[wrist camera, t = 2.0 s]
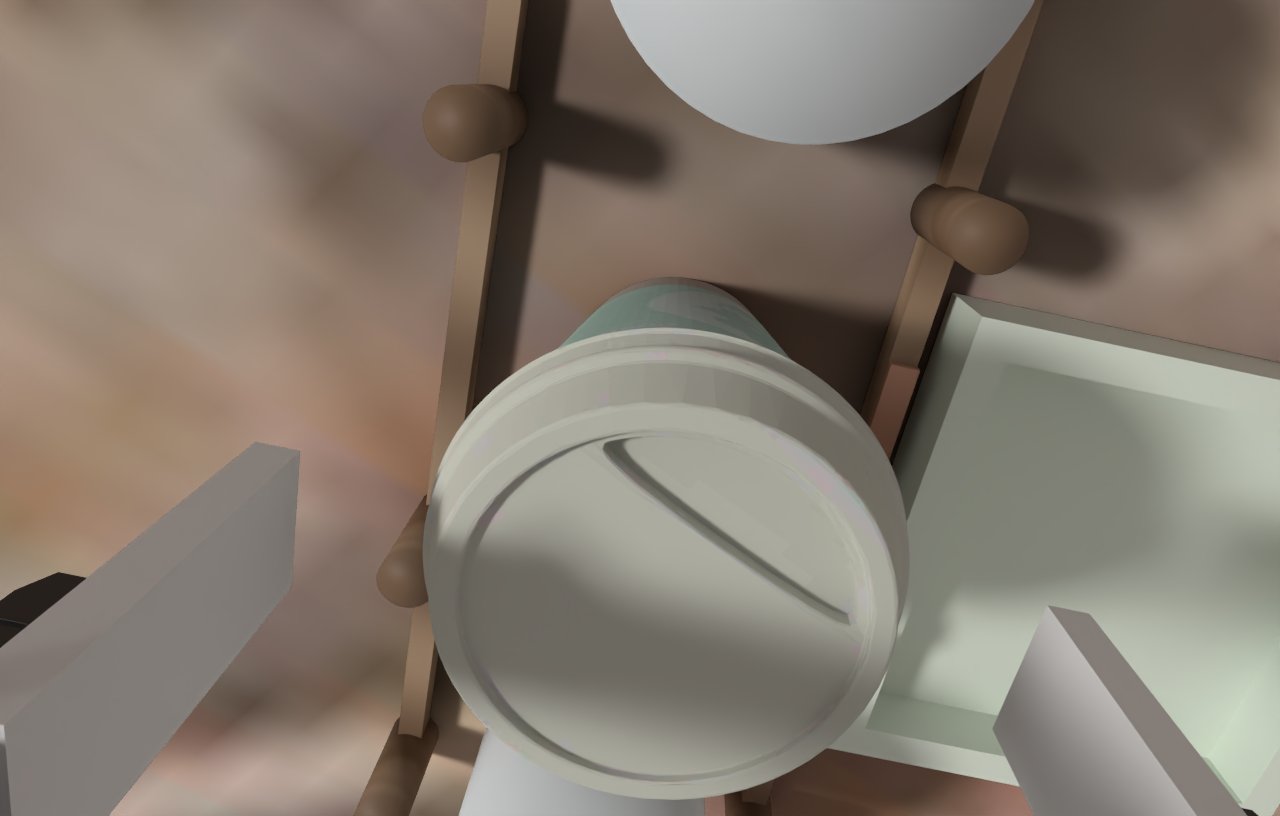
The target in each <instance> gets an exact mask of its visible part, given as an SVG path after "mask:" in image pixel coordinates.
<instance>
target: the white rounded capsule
mask: <svg viewBox="0 0 1280 816" xmlns="http://www.w3.org/2000/svg"><path fill="white" fill-rule="evenodd" d="M459 816H705V798H697V799H682V800H664V799H642V798H636V797H629V796H622V795H616V794H611V793H607V792H603V791H599V790H595V789H592V788H589V787H586V786H582V785H579V784H576V783H574V782H571V781H569V780H567V779H564V778H562V777H559V776H557V775H555V774H552V773H550V772H548V771H547V770H545V769H543V768H541V767H539V766H537V765H536V764H534V763H532V762H530V761H529V760H527V759H525V758H524V757H522V756H521V755H519V754H518V753H516V752H515V751H514V750H512V749H511V748H510V747H508V746H507V745H506V744H505V743H503V742H502V741H501V740H500V739H499V738H497V737H496V736H495V735H494V734H493V733H492V732H491V731H490V730H489V729H488V728H487V727H486V729H485V733H484V736H483V739H482V742H481V746H480V749H479V752H478V755H477V759H476V762H475V765H474V768H473V771H472V775H471V778H470V781H469V784H468V788H467V791H466V794H465V797H464V801H463V804H462V807H461V810H460V813H459Z"/></svg>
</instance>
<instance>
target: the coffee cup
mask: <svg viewBox="0 0 1280 816" xmlns="http://www.w3.org/2000/svg"><path fill="white" fill-rule="evenodd" d="M423 569H424V578H425V584H426V589H427V593H428V598H429V600H428V603H429V612H430V620H431V628H432V632H433V636H434V639H435V643H436V647H437V650H438V653H439V656H440V658H441V661H442V663H443V665H444V668H445V670H446V672H447V674H448V676H449V678H450V680H451V682H452V684H453V685H454V687H455V688H456V690H457V691H458V693H459V695H460V696H461V698H462V699H463V701H464V702H465V703H466V705H467V706H468V707H469V708H470V710H471V711H472V712H473V713H474V714H475V716H476V717H477V718H478V719H479V720H480V721H481V722H482V723H483V724H484V725H485V726H486V727H487V728H488V729H489V730H490V731H491V732H492V733H493V734H494V735H495V736H496V737H497V738H499V739H500V740H501V741H502V742H503V743H505V744H506V745H507V746H508V747H510V748H511V749H512V750H514V751H515V752H516V753H518V754H519V755H521V756H522V757H524V758H525V759H527V760H529V761H530V762H532V763H534V764H536V765H537V766H539V767H541V768H543V769H545V770H547V771H548V772H550V773H552V774H555V775H557V776H559V777H562V778H564V779H567V780H569V781H571V782H574V783H576V784H579V785H582V786H586V787H589V788H592V789H595V790H599V791H603V792H607V793H611V794H616V795H622V796H629V797H636V798H642V799H664V800H682V799H697V798H705V797H712V796H719V795H724V794H728V793H733V792H737V791H741V790H745V789H748V788H751V787H754V786H757V785H760V784H763V783H765V782H768V781H770V780H773V779H775V778H777V777H779V776H782V775H784V774H786V773H788V772H790V771H792V770H794V769H795V768H797V767H799V766H801V765H802V764H804V763H806V762H808V761H809V760H811V759H812V758H814V757H815V756H816V755H818V754H819V753H820V752H822V751H823V750H825V749H826V748H827V747H829V746H830V745H831V744H832V743H834V742H835V741H836V740H837V739H838V738H839V737H840V736H841V735H842V734H843V733H844V732H845V731H846V730H847V729H848V728H849V727H850V726H851V725H852V724H853V723H854V722H855V720H856V719H857V718H858V717H859V716H860V714H861V713H862V712H863V711H864V710H865V708H866V707H867V705H868V704H869V702H870V700H871V699H872V697H873V696H874V694H875V693H876V691H877V689H878V688H879V686H880V684H881V681H882V679H883V677H884V675H885V673H886V671H887V668H888V665H889V663H890V660H891V657H892V654H893V651H894V646H895V642H896V637H897V631H898V624H899V622H900V619H901V616H902V612H903V609H904V605H905V600H906V596H907V590H908V582H909V571H910V552H909V539H908V532H907V523H906V515H905V509H904V504H903V499H902V495H901V491H900V488H899V485H898V481H897V479H896V476H895V473H894V471H893V468H892V466H891V464H890V462H889V460H888V457H887V456H886V454H885V452H884V450H883V448H882V446H881V445H880V443H879V441H878V440H877V438H876V436H875V435H874V434H873V432H872V431H871V429H870V428H869V426H868V425H867V424H866V422H865V421H864V420H863V419H862V418H861V416H860V415H859V414H858V413H857V412H856V411H855V409H854V408H853V407H852V406H851V405H850V404H849V403H848V402H847V401H846V400H845V399H844V398H843V397H842V396H841V395H840V394H839V393H837V392H836V391H835V390H834V389H833V388H832V387H830V386H829V385H828V384H827V383H826V382H824V381H823V380H822V379H820V378H819V377H817V376H816V375H815V374H813V373H812V372H810V371H809V370H807V369H806V368H804V367H802V366H801V365H799V364H797V363H796V362H794V361H792V360H791V359H790V358H789V357H788V356H787V354H786V353H785V352H784V351H783V350H782V348H781V347H780V346H779V345H778V344H777V342H776V341H775V340H774V339H773V338H772V337H771V335H770V334H769V333H768V332H767V331H766V329H765V328H764V327H763V326H762V325H761V324H760V322H759V321H758V320H757V319H756V318H755V317H754V316H753V315H752V313H751V312H750V311H749V310H748V309H747V308H746V307H745V306H744V305H743V304H742V303H741V302H740V301H738V300H737V299H736V298H735V297H733V296H732V295H730V294H729V293H727V292H725V291H724V290H722V289H720V288H718V287H716V286H713V285H711V284H708V283H705V282H702V281H698V280H694V279H688V278H679V277H667V278H657V279H652V280H647V281H643V282H640V283H637V284H635V285H632V286H630V287H628V288H625V289H624V290H622V291H620V292H618V293H617V294H615V295H614V296H612V297H611V298H610V299H608V300H607V301H606V302H605V303H604V304H603V305H602V306H600V307H599V308H598V309H597V310H596V311H595V312H594V313H593V314H592V315H591V316H590V317H589V318H588V319H587V320H586V321H585V322H584V323H583V324H582V325H581V326H580V327H579V328H578V329H577V330H576V331H575V332H574V333H573V334H572V335H571V336H570V337H569V338H568V339H567V340H566V341H565V342H564V343H563V344H562V345H561V346H560V347H559V348H558V349H556V350H554V351H552V352H550V353H548V354H546V355H544V356H542V357H540V358H538V359H536V360H534V361H533V362H531V363H529V364H527V365H526V366H524V367H523V368H521V369H520V370H518V371H517V372H515V373H514V374H512V375H511V376H510V377H508V378H507V379H506V380H504V381H503V382H502V383H501V384H499V385H498V386H497V387H496V388H495V389H494V390H492V391H491V392H490V393H489V394H488V395H487V396H486V397H485V398H484V399H483V400H482V401H481V402H480V403H479V404H478V405H477V406H476V408H475V409H474V410H473V411H472V412H471V413H470V415H469V416H468V417H467V419H466V420H465V421H464V423H463V424H462V425H461V427H460V428H459V430H458V431H457V433H456V434H455V436H454V438H453V439H452V441H451V443H450V445H449V447H448V449H447V451H446V453H445V455H444V457H443V459H442V461H441V464H440V466H439V469H438V472H437V475H436V478H435V481H434V484H433V488H432V492H431V497H430V502H429V507H428V511H427V515H426V520H425V527H424V537H423Z"/></svg>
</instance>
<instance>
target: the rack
mask: <svg viewBox="0 0 1280 816" xmlns="http://www.w3.org/2000/svg"><path fill="white" fill-rule="evenodd" d="M1043 2H1044V0H1035V1H1034V3H1033V5H1032V7H1031V9H1030V10H1029V12H1028V14H1027V15H1026V16H1025V18H1024V19H1023V21H1022V22H1021V24H1020V25H1019V27H1018V28H1017V30H1016V31H1015V32H1014V34H1013V35H1012V37H1011V38H1010V40H1009V41H1008V42H1007V43H1006V44H1005V45H1004V47H1003V48H1002V49H1001V50H1000V51H999V52H998V54H997V55H996V56H995V57H994V58H993V59H992V60H991V62H990V63H989V64H988V65H987V66H986V67H985V68H984V69H983V70H982V71H981V72H980V73H978V74H977V75H976V76H975V77H974V78H973V79H972V80H971V81H970V82H969V83H968V84H967V87H966V90H965V93H964V96H963V100H962V103H961V106H960V109H959V112H958V115H957V118H956V121H955V124H954V127H953V130H952V133H951V136H950V139H949V143H948V146H947V149H946V152H945V155H944V158H943V161H942V164H941V167H940V170H939V173H938V176H937V179H936V182H935V184H932V185H930V186H928V187H927V188H925V189H924V190H923V191H921V192H920V194H919V195H918V196H917V197H916V199H915V201H914V203H913V205H912V209H911V223H912V226H913V229H914V230H915V232H916V233H917V234H918V238H917V241H916V244H915V247H914V250H913V253H912V256H911V259H910V262H909V265H908V268H907V271H906V275H905V278H904V281H903V284H902V287H901V290H900V293H899V296H898V299H897V302H896V305H895V308H894V311H893V314H892V317H891V321H890V324H889V327H888V330H887V333H886V336H885V339H884V342H883V345H882V348H881V351H880V354H879V357H878V360H877V364H876V367H875V370H874V373H873V376H872V379H871V382H870V385H869V388H868V391H867V394H866V397H865V400H864V403H863V406H862V410H861V413H860V416H861V418H862V419H863V420H864V421H865V422H866V424H867V425H868V426H869V428H870V429H871V431H872V432H873V434H874V435H875V436H876V438H877V440H878V441H879V443H880V445H881V446H882V448H883V450H884V452H885V454H886V456H887V457H888V460H889V459H890V456H891V453H892V450H893V447H894V445H895V442H896V439H897V436H898V433H899V430H900V427H901V424H902V422H903V419H904V416H905V413H906V410H907V407H908V404H909V401H910V398H911V396H912V393H913V390H914V387H915V384H916V381H917V378H918V375H919V373H920V370H919V369H918V368H917V367H918V364H919V361H920V358H921V355H922V352H923V349H924V346H925V343H926V341H927V338H928V335H929V332H930V329H931V326H932V323H933V320H934V317H935V315H936V312H937V309H938V306H939V303H940V300H941V297H942V294H943V291H944V288H945V286H946V283H947V280H948V277H949V274H950V271H951V268H952V265H953V262H954V260H955V261H956V262H958V263H959V264H961V265H962V266H964V267H965V268H967V269H968V270H970V271H972V272H974V273H977V274H981V275H994V274H998V273H1001V272H1004V271H1006V270H1008V269H1009V268H1011V267H1012V266H1013V265H1015V264H1016V263H1017V262H1018V261H1019V260H1020V258H1021V257H1022V256H1023V254H1024V252H1025V250H1026V248H1027V246H1028V242H1029V226H1028V223H1027V220H1026V218H1025V217H1024V215H1023V214H1022V213H1021V212H1020V211H1019V210H1018V209H1017V208H1015V207H1014V206H1011V205H1009V204H1006V203H1004V202H1001V201H999V200H996V199H994V198H991V197H989V196H986V195H983V194H981V193H978V190H979V187H980V184H981V181H982V178H983V176H984V173H985V170H986V167H987V164H988V161H989V158H990V155H991V152H992V150H993V147H994V144H995V141H996V138H997V135H998V132H999V129H1000V126H1001V124H1002V121H1003V118H1004V115H1005V112H1006V109H1007V106H1008V103H1009V100H1010V97H1011V95H1012V92H1013V89H1014V86H1015V83H1016V80H1017V77H1018V74H1019V71H1020V69H1021V66H1022V63H1023V60H1024V57H1025V54H1026V51H1027V48H1028V45H1029V42H1030V40H1031V37H1032V34H1033V31H1034V28H1035V25H1036V22H1037V19H1038V16H1039V14H1040V11H1041V8H1042V5H1043ZM528 4H529V0H487V8H486V16H485V24H484V32H483V40H482V49H481V57H480V65H479V73H478V81H477V84H470V85H450V86H446V87H443V88H441V89H439V90H438V91H436V92H435V93H434V94H433V95H432V96H431V97H430V98H429V100H428V102H427V104H426V106H425V109H424V112H423V129H424V133H425V136H426V138H427V140H428V142H429V143H430V145H431V146H432V148H433V149H434V150H435V151H436V152H437V153H438V154H440V155H441V156H443V157H444V158H446V159H448V160H451V161H455V162H468V163H467V172H466V180H465V188H464V196H463V204H462V213H461V221H460V229H459V237H458V245H457V254H456V262H455V270H454V278H453V287H452V295H451V303H450V311H449V319H448V328H447V336H446V344H445V352H444V360H443V369H442V377H441V385H440V393H439V401H438V410H437V418H436V426H435V434H434V442H433V451H432V459H431V467H430V475H429V483H428V492H427V495H426V496H425V497H424V498H423V500H422V501H421V503H420V504H419V506H418V508H417V509H416V511H415V512H414V514H413V515H412V517H411V519H410V520H409V522H408V523H407V525H406V527H405V528H404V530H403V531H402V533H401V535H400V536H399V538H398V539H397V541H396V543H395V544H394V546H393V547H392V549H391V551H390V552H389V554H388V555H387V557H386V558H385V560H384V562H383V563H382V565H381V566H380V568H379V570H378V572H377V577H376V581H377V586H378V588H379V590H380V592H381V594H382V595H383V596H384V597H385V598H386V599H387V600H388V601H390V602H391V603H393V604H395V605H398V606H401V607H406V608H413V615H412V623H411V631H410V639H409V648H408V656H407V664H406V672H405V680H404V689H403V697H402V705H401V713H400V718H398V719H397V721H396V722H395V724H394V726H393V729H392V731H391V733H390V735H389V738H388V740H387V742H386V744H385V746H384V749H383V751H382V753H381V755H380V757H379V760H378V762H377V764H376V766H375V768H374V771H373V773H372V775H371V777H370V779H369V782H368V784H367V786H366V788H365V791H364V793H363V795H362V797H361V799H360V802H359V804H358V806H357V808H356V810H355V813H354V815H353V816H409V813H410V811H411V808H412V806H413V803H414V800H415V798H416V795H417V792H418V790H419V787H420V784H421V782H422V779H423V776H424V774H425V771H426V768H427V766H428V763H429V760H430V758H431V755H432V753H433V750H434V747H435V745H436V742H437V739H438V736H439V732H438V728H437V726H436V724H435V723H434V722H433V721H432V720H431V719H429V718H430V711H431V704H432V696H433V689H434V682H435V675H436V668H437V660H438V650H437V647H436V643H435V639H434V636H433V632H432V628H431V620H430V612H429V603H428V600H429V598H428V593H427V589H426V584H425V578H424V569H423V537H424V527H425V520H426V515H427V511H428V507H429V502H430V497H431V492H432V488H433V484H434V481H435V478H436V475H437V472H438V469H439V466H440V464H441V461H442V459H443V457H444V455H445V453H446V451H447V449H448V447H449V445H450V443H451V441H452V439H453V438H454V436H455V434H456V433H457V431H458V430H459V428H460V427H461V425H462V424H463V423H464V421H465V420H466V419H467V417H468V416H469V415H470V413H471V412H472V408H473V401H474V393H475V386H476V379H477V372H478V365H479V357H480V350H481V343H482V336H483V329H484V321H485V314H486V307H487V300H488V292H489V285H490V278H491V271H492V264H493V256H494V249H495V242H496V235H497V228H498V220H499V213H500V206H501V199H502V191H503V184H504V177H505V170H506V163H507V155H508V148H509V146H512V145H513V144H515V143H516V142H518V141H519V140H520V139H521V137H522V136H523V134H524V132H525V130H526V127H527V122H528V114H527V109H526V106H525V104H524V102H523V100H522V98H521V97H520V96H519V94H518V93H517V92H516V90H517V83H518V76H519V69H520V62H521V54H522V47H523V40H524V33H525V26H526V18H527V11H528ZM774 780H775V779H773V780H770V781H768V782H765V783H763V784H760V785H757V786H754V787H751V788H748V789H745V790H741V791H737V792H733V793H728V794H725V814H726V816H772V813H771V804H770V792H771V789H772V786H773V783H774Z"/></svg>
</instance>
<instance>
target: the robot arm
mask: <svg viewBox="0 0 1280 816" xmlns="http://www.w3.org/2000/svg"><path fill="white" fill-rule="evenodd" d="M299 463H300V451H298V450H293V449H288V448H283V447H278V446H274V445H269V444H264V443H259V442H255V443H254V444H252V445H251V446H250V447H249V448H247V449H246V450H245V451H244V452H242V453H241V454H240V455H239V456H237V457H236V458H235V459H234V460H233V461H231V462H230V463H229V464H228V465H226V466H225V467H224V468H223V469H221V470H220V471H219V472H218V473H216V474H215V475H214V476H213V477H211V478H210V479H209V480H208V481H206V482H205V483H204V484H203V485H202V486H200V487H199V488H198V489H197V490H195V491H194V492H193V493H192V494H190V495H189V496H188V497H187V498H185V499H184V500H183V501H182V502H180V503H179V504H178V505H177V506H176V507H174V508H173V509H172V510H171V511H169V512H168V513H167V514H166V515H164V516H163V517H162V518H161V519H159V520H158V521H157V522H156V523H154V524H153V525H152V526H151V527H150V528H148V529H147V530H146V531H145V532H143V533H142V534H141V535H140V536H138V537H137V538H136V539H135V540H133V541H132V542H131V543H130V544H128V545H127V546H126V547H125V548H123V549H122V550H121V551H120V552H119V553H117V554H116V555H115V556H114V557H112V558H111V559H110V560H109V561H107V562H106V563H105V564H104V565H102V566H101V567H100V568H99V569H97V570H96V571H95V572H94V573H93V574H91V575H90V576H89V577H88V578H84V577H80V576H75V575H70V574H65V573H60V572H58V573H55V574H53V575H51V576H48V577H46V578H43V579H41V580H38V581H36V582H34V583H31V584H29V585H26V586H24V587H21V588H19V589H17V590H14V591H13V592H12V593H10V594H9V595H8V596H6V597H5V598H4V599H2V600H1V601H0V816H109V815H110V813H111V812H112V811H113V810H114V808H115V807H116V806H117V805H118V803H119V802H120V801H121V800H122V798H123V797H124V796H125V795H126V793H127V792H128V791H129V790H130V788H131V787H132V786H133V785H134V783H135V782H136V781H137V780H138V778H139V777H140V776H141V775H142V773H143V772H144V771H145V770H146V768H147V767H148V766H149V765H150V763H151V762H152V761H153V760H154V758H155V757H156V756H157V755H158V753H159V752H160V751H161V750H162V748H163V747H164V746H165V745H166V743H167V742H168V741H169V740H170V738H171V737H172V736H173V735H174V733H175V732H176V731H177V730H178V728H179V727H180V726H181V725H182V723H183V722H184V721H185V720H186V718H187V717H188V716H189V715H190V713H191V712H192V711H193V710H194V708H195V707H196V706H197V705H198V703H199V702H200V701H201V700H202V698H203V697H204V696H205V695H206V693H207V692H208V691H209V690H210V688H211V687H212V686H213V685H214V683H215V682H216V681H217V680H218V678H219V677H220V676H221V675H222V673H223V672H224V671H225V670H226V668H227V667H228V666H229V665H230V663H231V662H232V661H233V660H234V658H235V657H236V656H237V655H238V653H239V652H240V651H241V650H242V648H243V647H244V646H245V645H246V643H247V642H248V641H249V640H250V638H251V637H252V636H253V635H254V633H255V632H256V631H257V630H258V628H259V627H260V626H261V625H262V623H263V622H264V621H265V620H266V618H267V617H268V616H269V615H270V613H271V612H272V611H273V610H274V608H275V607H276V606H277V605H278V603H279V602H280V601H281V600H282V598H283V597H284V596H285V595H286V593H287V592H288V591H289V590H290V588H291V587H292V571H293V556H294V540H295V525H296V509H297V494H298V478H299ZM992 730H993V732H994V734H995V736H996V738H997V740H998V742H999V744H1000V746H1001V748H1002V751H1003V753H1004V755H1005V757H1006V759H1007V761H1008V763H1009V765H1010V767H1011V769H1012V771H1013V773H1014V775H1015V777H1016V779H1017V782H1018V784H1019V786H1020V788H1021V790H1022V792H1023V794H1024V796H1025V798H1026V800H1027V802H1028V804H1029V806H1030V808H1031V810H1032V812H1033V815H1034V816H1258V815H1257V814H1256V813H1255V812H1254V811H1253V810H1249V809H1245V808H1241V807H1240V806H1239V804H1238V803H1237V802H1236V801H1235V799H1234V798H1233V797H1232V795H1231V794H1230V793H1229V792H1228V790H1227V789H1226V788H1225V787H1224V785H1223V784H1222V783H1221V781H1220V780H1219V779H1218V778H1217V776H1216V775H1215V774H1214V772H1213V771H1212V770H1211V769H1210V767H1209V766H1208V765H1207V763H1206V762H1205V761H1204V760H1203V758H1202V757H1201V756H1200V754H1199V753H1198V752H1197V751H1196V749H1195V748H1194V747H1193V745H1192V744H1191V743H1190V742H1189V740H1188V739H1187V738H1186V736H1185V735H1184V734H1183V733H1182V731H1181V730H1180V729H1179V728H1178V726H1177V725H1176V724H1175V722H1174V721H1173V720H1172V719H1171V717H1170V716H1169V715H1168V713H1167V712H1166V711H1165V710H1164V708H1163V707H1162V706H1161V704H1160V703H1159V702H1158V701H1157V699H1156V698H1155V697H1154V695H1153V694H1152V693H1151V692H1150V690H1149V689H1148V688H1147V686H1146V685H1145V684H1144V683H1143V681H1142V680H1141V679H1140V678H1139V676H1138V675H1137V674H1136V672H1135V671H1134V670H1133V669H1132V667H1131V666H1130V665H1129V663H1128V662H1127V661H1126V660H1125V658H1124V657H1123V656H1122V654H1121V653H1120V652H1119V651H1118V649H1117V648H1116V647H1115V645H1114V644H1113V643H1112V642H1111V640H1110V639H1109V638H1108V636H1107V635H1106V634H1105V633H1104V631H1103V630H1102V629H1101V627H1100V626H1099V625H1098V624H1097V622H1096V621H1095V620H1094V619H1093V617H1092V616H1091V615H1090V614H1089V613H1084V612H1079V611H1074V610H1069V609H1065V608H1060V607H1055V606H1050V605H1047V606H1046V609H1045V611H1044V613H1043V615H1042V618H1041V620H1040V622H1039V624H1038V627H1037V629H1036V631H1035V633H1034V636H1033V638H1032V640H1031V642H1030V645H1029V647H1028V649H1027V651H1026V654H1025V656H1024V658H1023V660H1022V663H1021V665H1020V667H1019V669H1018V672H1017V674H1016V676H1015V678H1014V681H1013V683H1012V685H1011V687H1010V690H1009V692H1008V694H1007V696H1006V699H1005V701H1004V703H1003V705H1002V708H1001V710H1000V712H999V714H998V717H997V719H996V721H995V723H994V726H993V728H992Z"/></svg>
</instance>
